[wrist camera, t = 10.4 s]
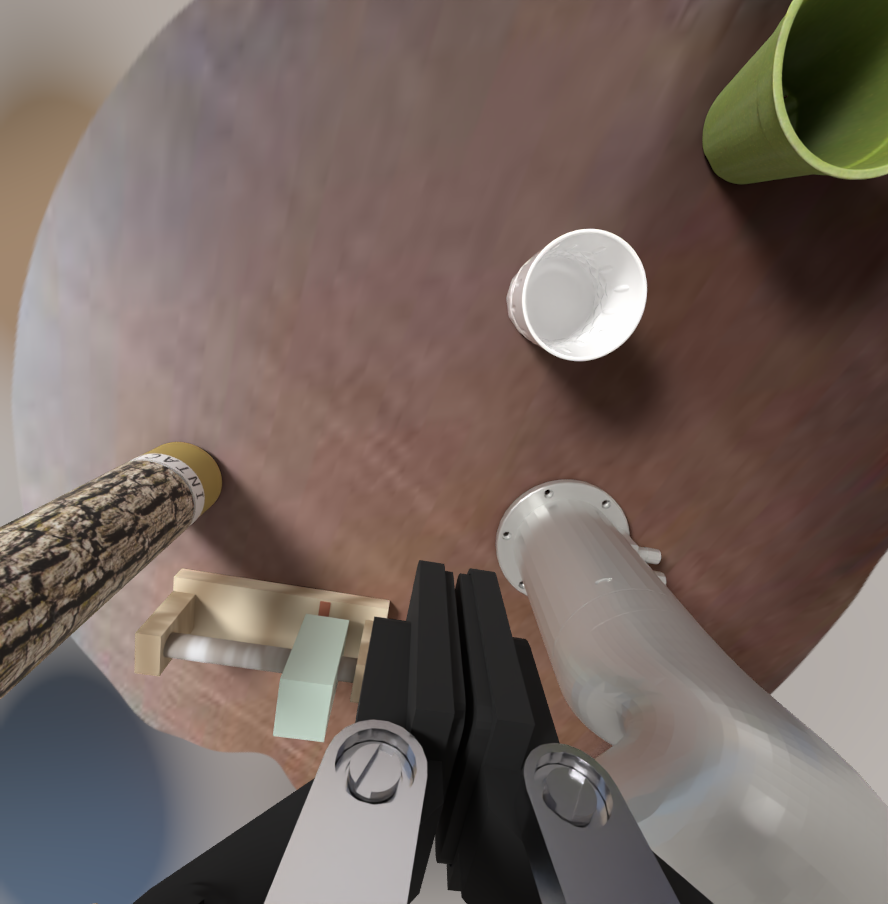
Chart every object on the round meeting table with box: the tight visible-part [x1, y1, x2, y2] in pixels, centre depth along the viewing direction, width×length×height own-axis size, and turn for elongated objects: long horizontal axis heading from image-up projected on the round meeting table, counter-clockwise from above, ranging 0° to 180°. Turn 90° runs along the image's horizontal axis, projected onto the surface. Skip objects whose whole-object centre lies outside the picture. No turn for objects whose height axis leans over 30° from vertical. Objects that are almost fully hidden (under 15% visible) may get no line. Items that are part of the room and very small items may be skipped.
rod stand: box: [135, 569, 390, 703], centre depth 43 cm, size 20×7×8 cm, turn 79°
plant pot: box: [703, 0, 888, 184], centre depth 31 cm, size 12×12×11 cm
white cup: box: [506, 229, 647, 361], centre depth 34 cm, size 8×8×10 cm
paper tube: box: [0, 442, 222, 699], centre depth 31 cm, size 7×7×25 cm
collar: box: [273, 614, 349, 742], centre depth 41 cm, size 4×6×8 cm
